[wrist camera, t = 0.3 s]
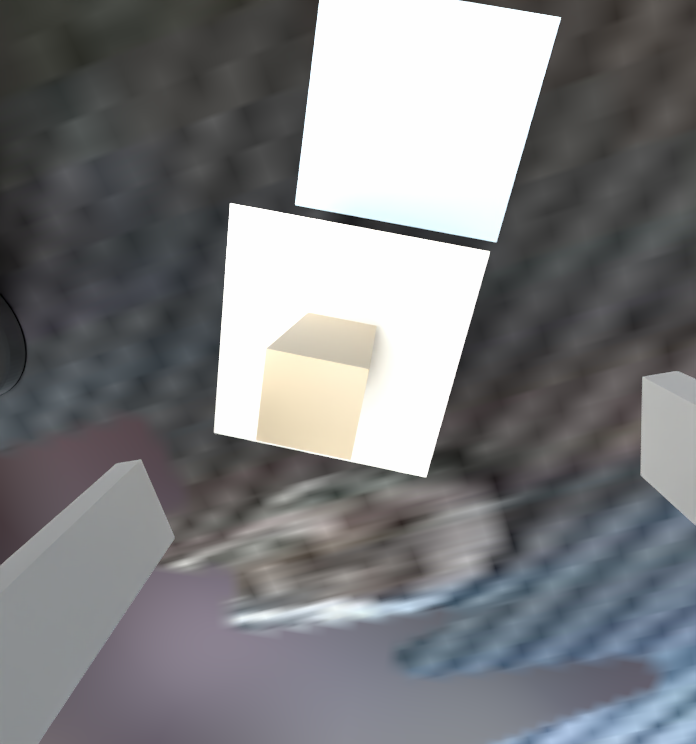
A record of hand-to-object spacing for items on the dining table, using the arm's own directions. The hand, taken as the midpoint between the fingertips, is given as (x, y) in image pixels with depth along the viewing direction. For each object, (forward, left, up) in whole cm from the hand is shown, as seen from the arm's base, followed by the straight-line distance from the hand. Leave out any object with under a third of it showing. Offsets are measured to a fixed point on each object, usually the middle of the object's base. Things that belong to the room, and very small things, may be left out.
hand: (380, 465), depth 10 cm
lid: (-3, -1, -14) cm, 14 cm away
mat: (-1, +15, -29) cm, 32 cm away
